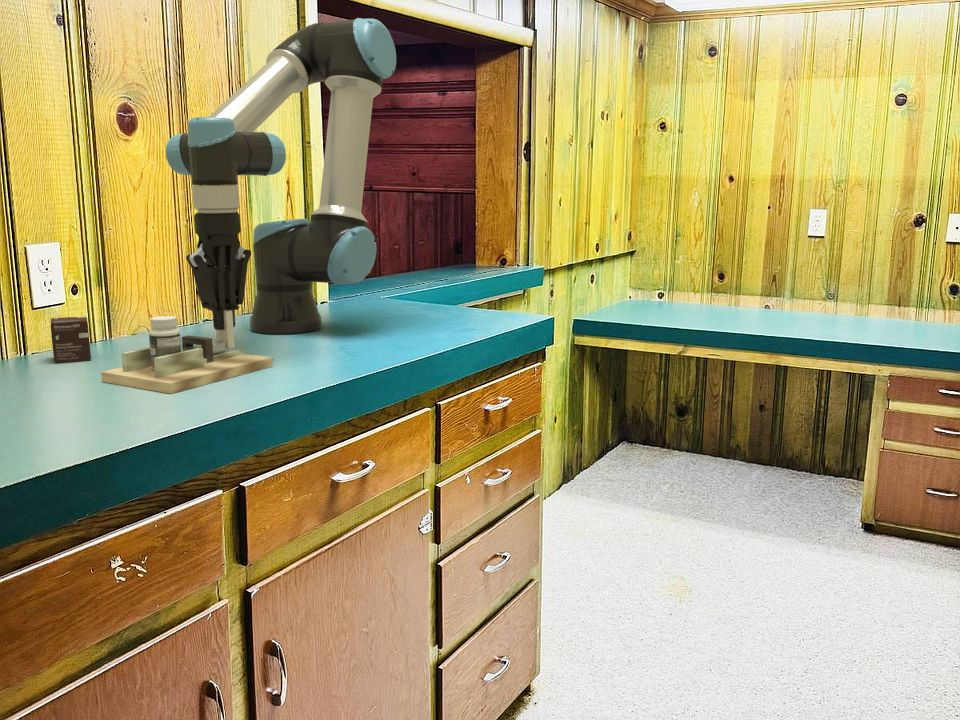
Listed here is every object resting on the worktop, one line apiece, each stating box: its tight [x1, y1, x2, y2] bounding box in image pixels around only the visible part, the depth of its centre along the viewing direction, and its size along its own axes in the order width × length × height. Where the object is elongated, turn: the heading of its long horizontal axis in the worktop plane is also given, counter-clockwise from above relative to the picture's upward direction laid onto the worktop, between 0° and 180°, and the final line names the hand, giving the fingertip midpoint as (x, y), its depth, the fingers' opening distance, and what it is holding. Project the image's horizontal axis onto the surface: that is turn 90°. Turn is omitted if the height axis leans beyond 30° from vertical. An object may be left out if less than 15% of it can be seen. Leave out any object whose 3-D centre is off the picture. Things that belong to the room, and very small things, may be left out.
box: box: [50, 316, 92, 364], centre depth 154 cm, size 6×6×7 cm
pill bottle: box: [148, 315, 182, 370], centre depth 139 cm, size 5×5×8 cm
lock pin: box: [182, 340, 226, 355], centre depth 146 cm, size 7×2×2 cm, turn 150°
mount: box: [100, 335, 274, 395], centre depth 142 cm, size 22×16×6 cm
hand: (226, 346), depth 151 cm, fingers closed
